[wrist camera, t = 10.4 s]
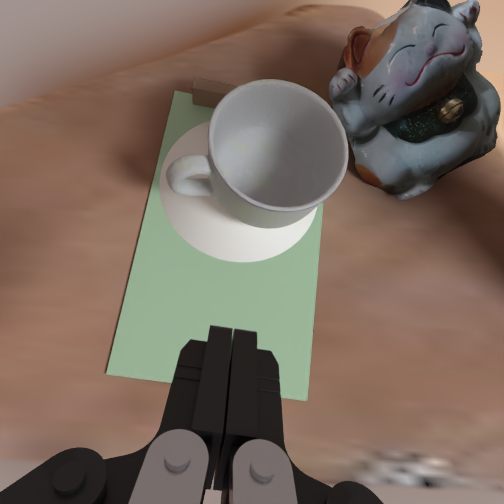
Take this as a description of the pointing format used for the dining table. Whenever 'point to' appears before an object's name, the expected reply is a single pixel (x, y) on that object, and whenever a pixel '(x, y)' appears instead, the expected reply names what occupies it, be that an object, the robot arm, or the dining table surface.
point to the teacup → (267, 154)
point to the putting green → (214, 269)
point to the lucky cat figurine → (415, 96)
